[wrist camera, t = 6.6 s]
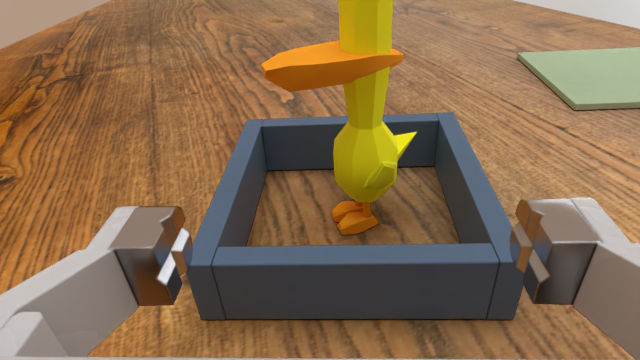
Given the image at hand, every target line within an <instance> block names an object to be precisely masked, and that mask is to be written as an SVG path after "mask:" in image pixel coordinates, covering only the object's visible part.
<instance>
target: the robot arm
mask: <svg viewBox="0 0 640 360" xmlns="http://www.w3.org/2000/svg"><path fill="white" fill-rule="evenodd" d="M515 214H516V216H517V218H518V220H519V221H520V222H518V223H517V224H516V225H515V226H514V227H513V228H512V229H511V234H510V239H509V242H510V253H511V257H512V260H513V263H514V265H515V267H516V268H518V269H519V270H520V271H522V272H523V273H524V277H523V281H522V282H523V284H524V286H525V288H526V290H527V292H528V294H529V297H530V299H531V301H532V303H533V304H559V305H573V306H572V307H573V308H575V309H576V310H577V311H578V312H580V313H581V314H582V315H583V316H584V317H586V318H587V319H588V320H589V321H590V322H592V323H593V324H594V325H595V326H596V327H598V328H599V329H600V330H601V331H602V332H604V333H605V334H606V335H607V336H608V337H610V338H611V339H612V340H613V341H614V342H616V343H617V344H618V345H619V346H620V347H622V348H623V349H624V350H625V351H626V352H628V353H629V354H630V355H631V356H633V357H634V358H635V359H636V360H640V243H631V242H630V241H629V240H628V238H627V237H626V236H625V235H624V234H623V233H622V231H621V230H620V229H619V228H618V227H617V225H616V224H615V223H614V222H613V221H612V220H611V218H610V217H609V216H608V215H607V214H606V213H605V211H604V210H603V209H602V208H601V207H600V205H599V204H598V203H597V202H596V201H595V200H594V199H592V198H590V197H575V198H565V199H531V200H521V201H520V202H519V204H518V206H517V209H516V213H515ZM185 220H186V219H185V216H184V213H183V210H182V208H180V207H179V206H140V207H139V206H121V207H118V208H116V209H115V210H114V211H113V213H112V214H111V216H110V217H109V218H108V220H107V221H106V222H105V224H104V225H103V226H102V228H101V229H100V230H99V232H98V233H97V234H96V236H95V237H94V238H93V240H92V241H91V242H90V244H89V245H88V246H87V248H86V249H85V250H78V251H76V252H74V253H73V254H71V255H69V256H67V257H66V258H64V259H62V260H60V261H59V262H57V263H55V264H53V265H52V266H50V267H48V268H46V269H45V270H43V271H41V272H39V273H38V274H36V275H34V276H32V277H31V278H29V279H27V280H25V281H24V282H22V283H20V284H18V285H17V286H15V287H13V288H11V289H10V290H8V291H6V292H4V293H3V294H1V295H0V360H525V359H369V358H183V357H86V356H87V355H88V354H89V353H90V352H91V351H92V350H93V349H95V348H96V347H97V346H98V345H99V344H100V343H101V342H102V341H103V340H104V339H105V338H107V337H108V336H109V335H110V334H111V333H112V332H113V331H114V330H115V329H116V328H117V327H119V326H120V325H121V324H122V323H123V322H124V321H125V320H126V319H127V318H128V317H129V316H131V315H132V314H133V313H134V312H135V311H136V310H137V309H138V308H139V307H138V306H158V305H174V302H175V300H176V298H177V295H178V293H179V290H180V288H181V286H182V281H181V278H180V276H181V275H182V274H184V273H185V272H186V271H187V270H188V269H189V266H190V264H191V261H192V253H193V245H192V239H191V235H190V233H189V232H188V231H187V230H185V229H184V228H183V227H182V226H183V224H184V222H185Z"/></svg>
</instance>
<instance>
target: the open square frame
mask: <svg viewBox="0 0 640 360" xmlns="http://www.w3.org/2000/svg"><path fill="white" fill-rule="evenodd" d="M348 121H349V119H348V116H338V117H310V118H281V119H264V120H263V119H253V120H247V121H246V124H245V126H244V128H243V131H242V133H241V135H240V137H239V140H238V142H237V144H236V147H235V149H234V151H233V153H232V156H231V158H230V160H229V163H228V165H227V167H226V169H225V172H224V174H223V176H222V179H221V181H220V183H219V185H218V188H217V190H216V192H215V195H214V197H213V199H212V201H211V204H210V206H209V208H208V211H207V213H206V215H205V217H204V220H203V222H202V224H201V227H200V229H199V231H198V233H197V236H196V238H195V240H194V243H193V253H192V261H191V264H190V266H189V269H188V270H187V271H186V274H187V277H188V280H189V283H190V286H191V290H192V293H193V296H194V299H195V302H196V305H197V308H198V311H199V314H200V317H201V319H202V320H224V319H226V318H227V319H485V318H487V319H514V316H515V313H516V309H517V306H518V302H519V299H520V296H521V292H522V289H523V285H524V284H523V282H522V281H523V277H524V273H523V272H522V271H520V270H519V269H518V268H516V267H515V265H514V263H513V260H512V257H511V253H510V242H509V239H510V234H511V229H512V228H513V227H512V225H511V223H510V221H509V219H508V217H507V215H506V213H505V212H504V210H503V208H502V206H501V204H500V202H499V200H498V198H497V196H496V194H495V192H494V190H493V188H492V186H491V184H490V182H489V180H488V179H487V177H486V175H485V173H484V171H483V169H482V167H481V165H480V163H479V161H478V159H477V157H476V155H475V153H474V151H473V149H472V147H471V145H470V144H469V142H468V140H467V138H466V136H465V134H464V132H463V130H462V128H461V126H460V124H459V122H458V120H457V118H456V116H455V114H454V113H453V112H452V113H424V114H396V115H383V117H382V121H383V122H384V124H385V125H386V126H387V127H388V129H389V130H390V131H391V132H392V134H393V135H394V136H395V135H401V134H406V133H412V132H417V133H416V134H415V136H414V137H413V139H412V140H411V142H410V143H409V145H408V146H407V148H406V149H405V151H404V152H403V154H402V155H401V157H400V158H399V160H398V162H397V167H415V166H435V168H436V171H437V174H438V177H439V180H440V183H441V186H442V189H443V192H444V195H445V198H446V201H447V204H448V207H449V210H450V212H451V215H452V218H453V221H454V224H455V227H456V230H457V233H458V236H459V239H460V242H461V244H396V245H320V246H246V244H247V241H248V237H249V234H250V230H251V227H252V223H253V220H254V216H255V213H256V209H257V205H258V202H259V198H260V195H261V191H262V188H263V184H264V181H265V177H266V173H267V170H300V169H334V157H333V149H334V139H335V138H336V137H337V135H338V134H339V133H340V131H341V130H342V129H343V127H344V126H345V125H346V124H347V122H348Z"/></svg>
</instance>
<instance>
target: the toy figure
mask: <svg viewBox="0 0 640 360" xmlns="http://www.w3.org/2000/svg"><path fill="white" fill-rule="evenodd" d="M392 9H393V0H339V30H340V40H339V41H333V42H327V43H322V44H316V45H311V46H306V47H301V48H296V49H293V50H289V51H285V52H281V53H278V54H277V55H275V56H274V57H272V58H270V59H269V60H267V61H266V62H264V63H263V64H261V65H262V69H263V73H264V77H265V79H267V80H269V81H271V82H272V83H274V84H276V85H278V86H280V87H282V88H283V89H285V90H287V91H289V92H292V91H300V90H308V89H315V88H321V87H327V86H334V85H340V84H343V86H344V93H345V100H346V106H347V113H348V119H349V121H348V122H347V124H346V125H345V126H344V127H343V129H342V130H341V131H340V133H339V134H338V135H337V137H336V138H335V139H334V149H333V157H334V178H335V182H336V183H337V184H338V185H339V186H340V187H341V188H342V189H343V190H344V191H345V193H346V194H347V195H348V196H349V197H351V198H352V199H354V200H355V202H354V201H344V202H340V203H339V204H338V205H337V206H336V207H335V208H334V209H333V210H332V211H331V215H332V217H333V219H334V221H335V222H339V223H338V224H337V227H338V229H339V231H340V232H341V234H342V235H348V234H357V233H360V232H363V231H365V230H367V229H369V228H371V227H373V226H375V225H377V224H378V220H377V219H376V218H375V217H374V215H372V214H371V202H373V201H375V200H377V199H378V198H380V197H381V196H382V195H383V194H384V193H385V192H386V191H387V190H388V189H389V188H390V187H391V186H392V185H393V183H394V182H395V181H396V180H397V162H398V160H399V158H400V157H401V155H402V154H403V152H404V151H405V149H406V148H407V146H408V145H409V143H410V142H411V140H412V139H413V137H414V136H415V134H416V133H417V132H412V133H406V134H401V135H395V136H394V135H393V134H392V132H391V131H390V130H389V129H388V127H387V126H386V125H385V124H384V122H383V121H382V117H383V111H384V104H385V97H386V91H387V84H388V77H389V71H390V68H392V67H394V66H396V65H398V64H399V63H400V62H401V61H402V60H403V59H404V54H402V53H400V52H398V51H397V50H395V49H393V48H391V39H392Z"/></svg>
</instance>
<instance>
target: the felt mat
mask: <svg viewBox="0 0 640 360" xmlns="http://www.w3.org/2000/svg"><path fill="white" fill-rule="evenodd" d="M517 58H518V59H519V60H520V61H521V62H522V63H523V64H524V65H525V66H527V67H528V68H529V69H530V70H531V71H532V72H533V73H534V74H535V75H536V76H537V77H539V78H540V79H541V80H542V81H543V82H544V83H545V84H546V85H547V86H548V87H549V88H551V89H552V90H553V91H554V92H555V93H556V94H557V95H558V96H559V97H560V98H561V99H563V100H564V101H565V102H566V103H567V104H568V105H569V106H570V107H571V108H572V109H573V110H595V109H624V108H640V47H638V48H616V49H593V50H571V51H548V52H526V53H518V55H517Z"/></svg>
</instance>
